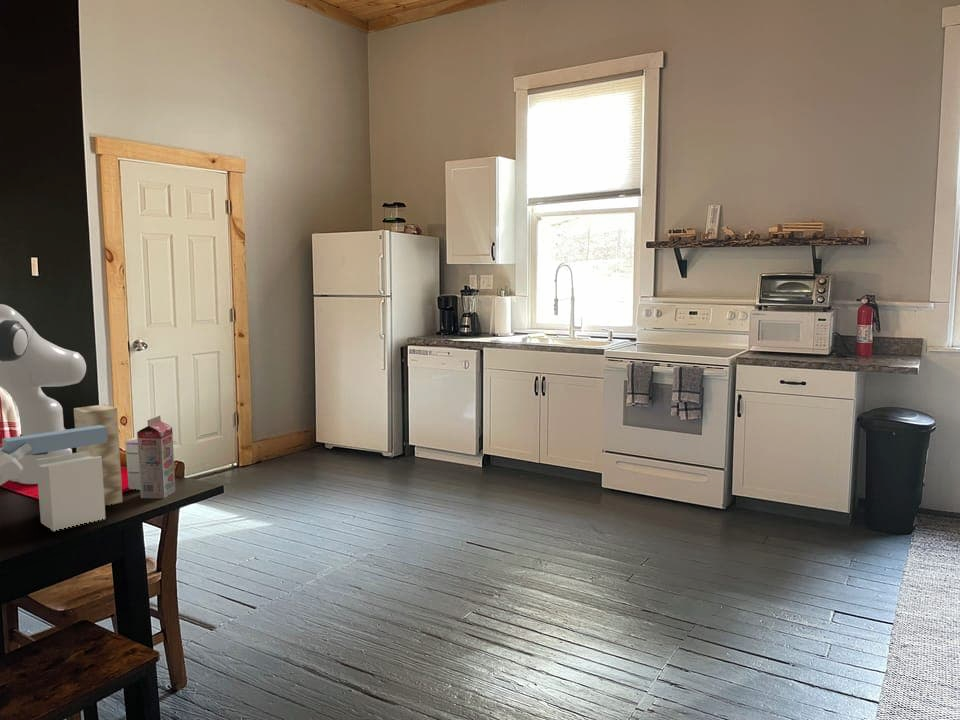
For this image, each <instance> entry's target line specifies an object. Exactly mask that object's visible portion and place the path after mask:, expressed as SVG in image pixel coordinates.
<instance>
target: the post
mask: <svg viewBox="0 0 960 720" xmlns="http://www.w3.org/2000/svg"><path fill="white" fill-rule="evenodd" d="M73 419H74V421H73V422H74V428H81V427H88V426H95V425H102V426H105V427H106V428H107V443H101V444H94V445H88V446H82V447H76V453H77V452H83V451H89V453H90V456H91V457H98V456H101V457H102V471H103V487H104V503H105V507H106V505H108V506H111V504H112V505H117V504H121V503H123V489H122V486H123V485H122V473H121V471H122V469H121V468H122V467H121V456H120V455H121V454H120V438H119V436H120V435H119V422H118V419H119V418H118V408H117V407H115V406H111V405H108V404H97V405H96V404H95V405H88V406H81V407H74V408H73Z"/></svg>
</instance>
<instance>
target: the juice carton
mask: <svg viewBox="0 0 960 720" xmlns="http://www.w3.org/2000/svg"><path fill="white" fill-rule="evenodd" d="M161 419H162V418H161V415H158V416H154V417H153V418H150V419H148V420H147V426H144V427H143V428H142V429H139V430H138V431H137V432H136V435H137V436H136V437H137V439H138V456H139V474H140V490H139V491H140V499H165V497H166V498H167V497H169V496H170V495H172V494H173V493H175V492H176V481H175V479H176V478H175V477H176V476H175V456H174V434H173V426H171V425H170V424H167V423H166V422H163V421H162V420H161ZM163 491H164V494H163ZM168 495H169V496H168Z"/></svg>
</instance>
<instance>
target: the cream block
mask: <svg viewBox="0 0 960 720" xmlns="http://www.w3.org/2000/svg"><path fill="white" fill-rule="evenodd" d="M36 464H37V478H38V484H37V489H38V500H39V501H38V503H39V512H40V513H39V514H40V515H39V516H40V517H39V519H40V523H41V524H42V525H44V526H45V527H47V528H48V529H49V528H50V529H49V530H51V532H56V530H57V531H60V530H59V529H62V530H65V529H64V528H66V529H69V528H68V527H70V528H73V527H72V526H74V527H77V526H76V525H78V526H81V525H80V524H83V525H85V524H84V523H87V524H90V523H89V522H91V523H94V521H95V522H99V521H103V520H106V506H105V503H104V487H103V471H102V457H101V456H98V457H91V456H90V453H89V451H83V452H77V451H76V452H72V454H66V455H60V456H54V457H48V458H42V459H36ZM102 519H103V520H102ZM98 520H99V521H98Z"/></svg>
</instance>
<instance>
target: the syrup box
mask: <svg viewBox="0 0 960 720" xmlns="http://www.w3.org/2000/svg"><path fill="white" fill-rule="evenodd" d="M124 443H125V455H126V468H127V470H126V471H127V482H128V489H130V490H135V489H136V490H135V491H137V490H139V491H140V474H139V456H138V439H137V436H136V437H133V438H130V439H128V440H125V441H124Z"/></svg>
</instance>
